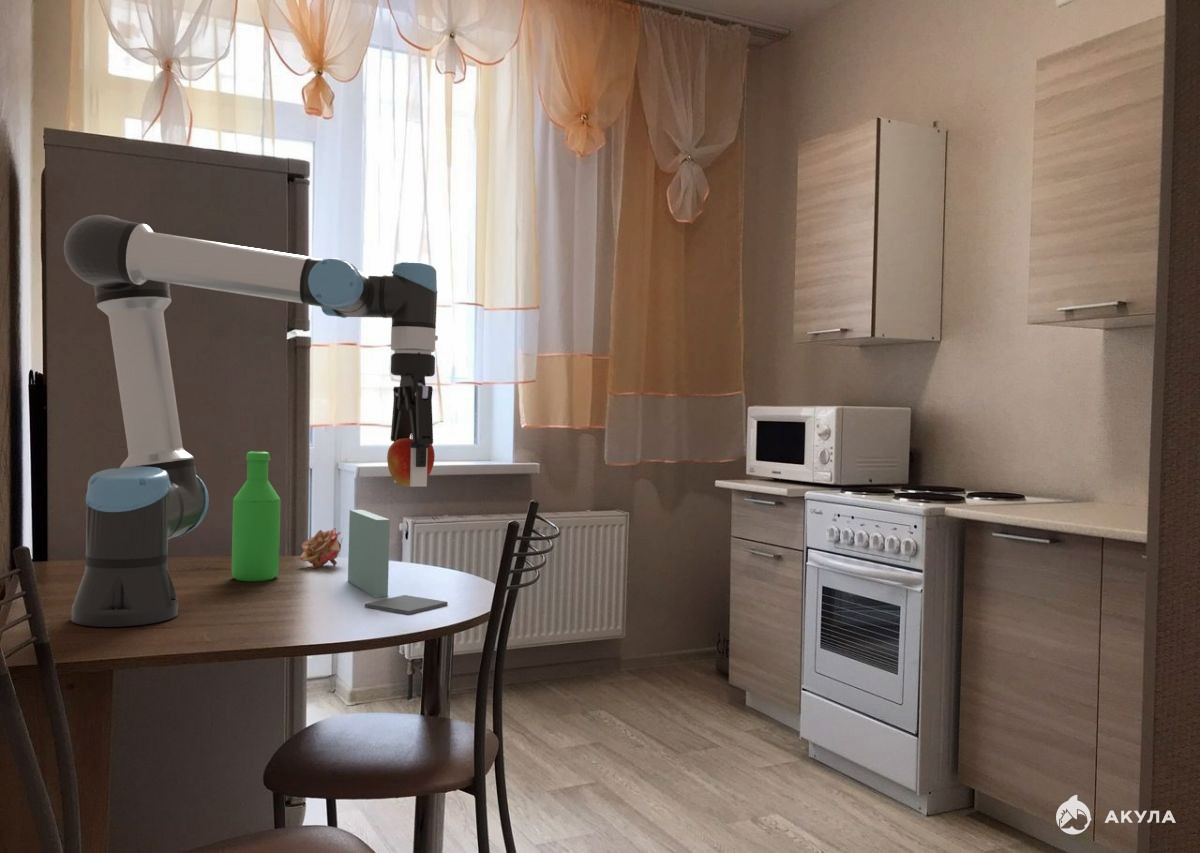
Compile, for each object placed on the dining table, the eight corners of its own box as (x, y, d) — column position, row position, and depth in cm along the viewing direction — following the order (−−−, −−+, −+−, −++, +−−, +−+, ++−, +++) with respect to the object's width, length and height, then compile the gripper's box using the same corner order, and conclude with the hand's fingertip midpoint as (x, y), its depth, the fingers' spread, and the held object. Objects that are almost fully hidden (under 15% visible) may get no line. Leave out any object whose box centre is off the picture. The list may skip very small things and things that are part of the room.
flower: (334, 553, 215) (314, 525, 212) (361, 549, 209) (341, 520, 206) (307, 582, 208) (286, 554, 205) (334, 579, 202) (313, 550, 199)
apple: (392, 488, 163) (393, 428, 163) (382, 484, 170) (383, 427, 170) (439, 487, 166) (440, 429, 166) (427, 483, 173) (429, 428, 173)
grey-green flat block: (390, 596, 177) (392, 519, 177) (374, 597, 175) (376, 519, 175) (362, 579, 192) (364, 509, 192) (347, 580, 191) (349, 509, 191)
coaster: (408, 614, 161) (408, 610, 161) (364, 606, 166) (364, 603, 166) (447, 605, 170) (447, 601, 170) (404, 598, 175) (404, 594, 175)
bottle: (286, 575, 195) (289, 451, 194) (266, 583, 186) (270, 453, 186) (243, 573, 196) (246, 450, 195) (222, 581, 187) (226, 451, 187)
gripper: (455, 351, 160) (452, 489, 161) (414, 356, 179) (411, 479, 179) (411, 349, 157) (408, 489, 157) (374, 354, 175) (371, 480, 175)
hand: (410, 484), depth 168 cm, fingers closed on apple, 8 cm apart
